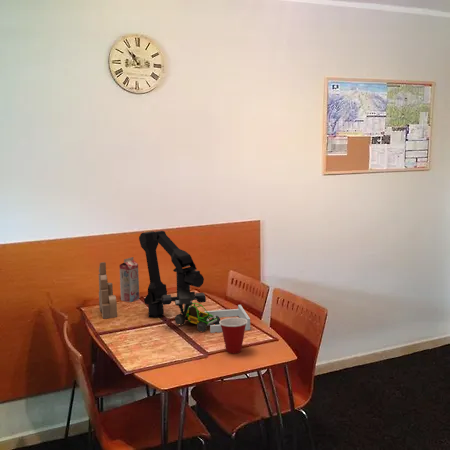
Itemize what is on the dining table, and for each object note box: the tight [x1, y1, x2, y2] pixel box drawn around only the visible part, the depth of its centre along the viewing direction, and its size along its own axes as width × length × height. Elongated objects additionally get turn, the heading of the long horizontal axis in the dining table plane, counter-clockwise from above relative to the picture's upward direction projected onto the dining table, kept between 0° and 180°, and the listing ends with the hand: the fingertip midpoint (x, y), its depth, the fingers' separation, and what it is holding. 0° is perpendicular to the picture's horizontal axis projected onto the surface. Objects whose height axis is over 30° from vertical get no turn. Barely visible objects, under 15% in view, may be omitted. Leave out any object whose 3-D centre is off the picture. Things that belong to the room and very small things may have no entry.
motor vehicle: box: [174, 302, 222, 333], centre depth 213 cm, size 12×19×11 cm, turn 53°
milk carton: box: [119, 257, 140, 303], centre depth 247 cm, size 7×7×22 cm
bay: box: [203, 304, 251, 334], centre depth 213 cm, size 17×19×5 cm
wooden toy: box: [98, 261, 118, 320], centre depth 227 cm, size 15×7×25 cm, turn 21°
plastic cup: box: [219, 317, 247, 354], centre depth 184 cm, size 11×11×12 cm
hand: (184, 317), depth 209 cm, fingers closed
